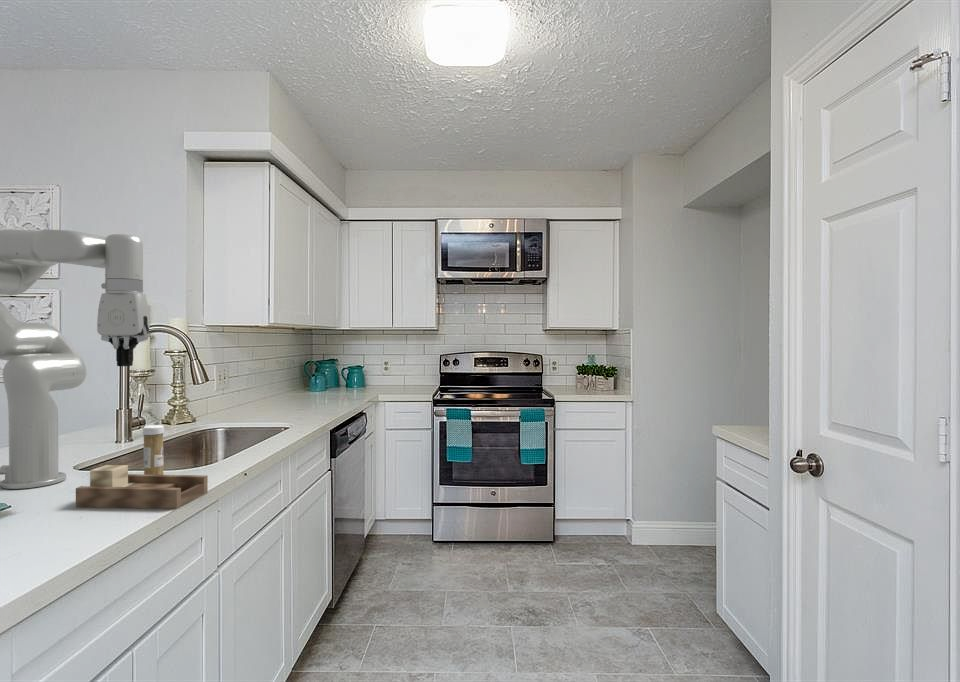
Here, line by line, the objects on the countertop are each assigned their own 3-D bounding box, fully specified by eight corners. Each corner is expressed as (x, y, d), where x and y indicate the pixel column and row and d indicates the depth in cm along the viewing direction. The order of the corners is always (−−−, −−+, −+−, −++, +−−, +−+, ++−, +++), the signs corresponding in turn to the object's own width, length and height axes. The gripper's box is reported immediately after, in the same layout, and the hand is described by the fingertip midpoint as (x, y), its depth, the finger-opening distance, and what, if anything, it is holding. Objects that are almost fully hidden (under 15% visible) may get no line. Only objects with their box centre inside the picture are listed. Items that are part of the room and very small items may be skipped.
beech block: (90, 491, 122) (90, 470, 122) (106, 484, 127) (106, 465, 127) (112, 491, 121) (112, 470, 121) (128, 485, 126) (127, 465, 126)
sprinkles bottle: (164, 479, 141) (164, 426, 141) (143, 482, 138) (143, 428, 138) (163, 476, 145) (163, 424, 144) (142, 478, 142) (142, 425, 142)
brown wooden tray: (75, 507, 119) (75, 488, 118) (115, 491, 131) (115, 474, 130) (176, 508, 117) (176, 489, 117) (207, 492, 129) (207, 475, 129)
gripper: (81, 286, 129) (82, 366, 129) (144, 286, 128) (145, 367, 128) (105, 289, 136) (105, 365, 136) (165, 289, 135) (165, 365, 136)
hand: (124, 365), depth 132 cm, fingers closed
